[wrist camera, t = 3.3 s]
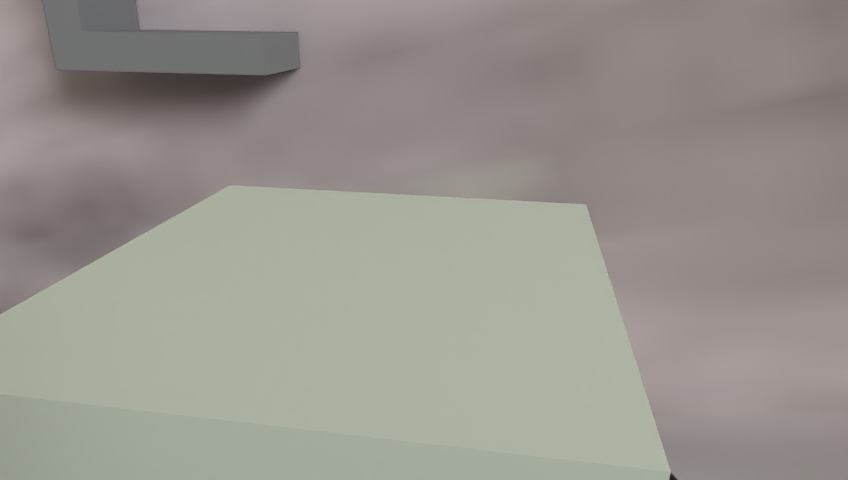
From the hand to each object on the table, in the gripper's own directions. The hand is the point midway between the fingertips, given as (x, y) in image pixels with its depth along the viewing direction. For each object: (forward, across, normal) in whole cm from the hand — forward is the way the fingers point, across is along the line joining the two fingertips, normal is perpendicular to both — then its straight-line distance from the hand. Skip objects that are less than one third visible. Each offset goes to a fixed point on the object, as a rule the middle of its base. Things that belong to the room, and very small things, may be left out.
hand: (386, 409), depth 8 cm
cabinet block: (+1, 0, 0) cm, 1 cm away
